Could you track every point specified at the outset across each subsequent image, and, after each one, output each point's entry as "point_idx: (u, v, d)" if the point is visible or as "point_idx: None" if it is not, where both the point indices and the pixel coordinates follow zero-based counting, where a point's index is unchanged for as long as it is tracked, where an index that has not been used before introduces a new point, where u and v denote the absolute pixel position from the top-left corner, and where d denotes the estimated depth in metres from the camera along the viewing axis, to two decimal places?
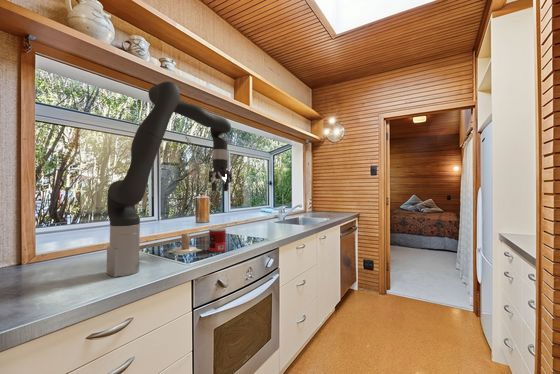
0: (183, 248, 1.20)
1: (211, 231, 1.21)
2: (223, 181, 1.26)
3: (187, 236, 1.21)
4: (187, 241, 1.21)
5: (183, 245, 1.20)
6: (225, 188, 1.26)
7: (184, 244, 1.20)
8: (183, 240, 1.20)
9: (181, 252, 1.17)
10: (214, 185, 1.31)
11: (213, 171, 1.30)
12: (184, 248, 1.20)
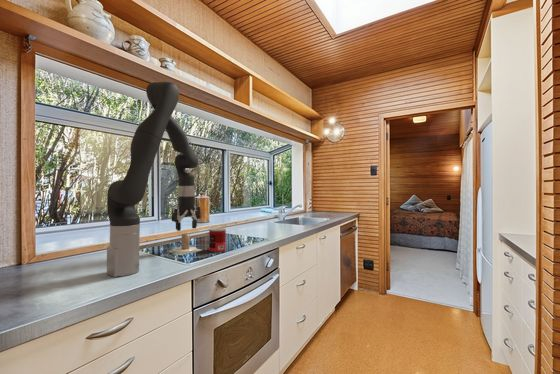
0: (183, 248, 1.20)
1: (211, 231, 1.21)
2: (195, 218, 1.24)
3: (187, 236, 1.21)
4: (187, 241, 1.21)
5: (183, 245, 1.20)
6: (196, 225, 1.25)
7: (184, 244, 1.20)
8: (183, 240, 1.20)
9: (181, 252, 1.17)
10: None
11: (181, 209, 1.18)
12: (184, 248, 1.20)
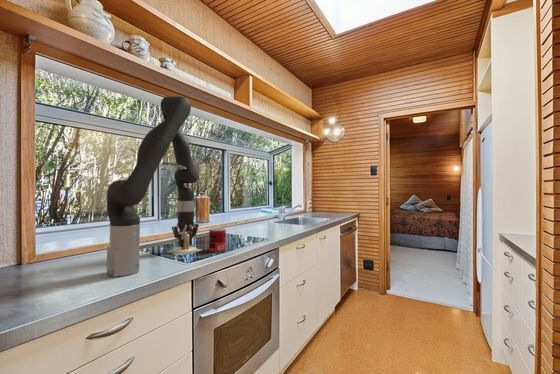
0: (183, 248, 1.20)
1: (211, 231, 1.21)
2: (190, 235, 1.23)
3: (187, 236, 1.21)
4: (187, 241, 1.21)
5: None
6: (191, 242, 1.24)
7: (184, 244, 1.20)
8: None
9: (181, 252, 1.17)
10: None
11: (180, 224, 1.18)
12: (184, 248, 1.20)
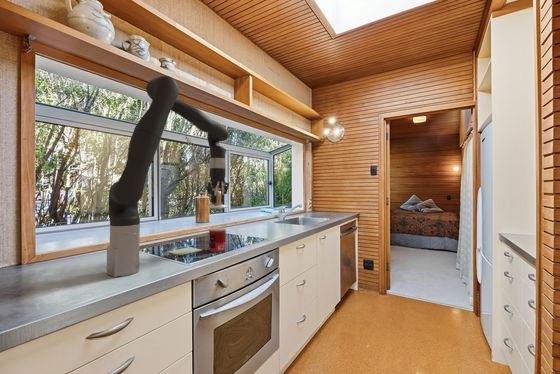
0: (215, 204, 1.22)
1: (211, 231, 1.21)
2: (222, 192, 1.25)
3: (219, 193, 1.23)
4: (219, 197, 1.23)
5: (216, 201, 1.22)
6: (222, 200, 1.26)
7: (216, 200, 1.22)
8: None
9: (214, 207, 1.19)
10: None
11: (213, 180, 1.21)
12: (216, 204, 1.22)
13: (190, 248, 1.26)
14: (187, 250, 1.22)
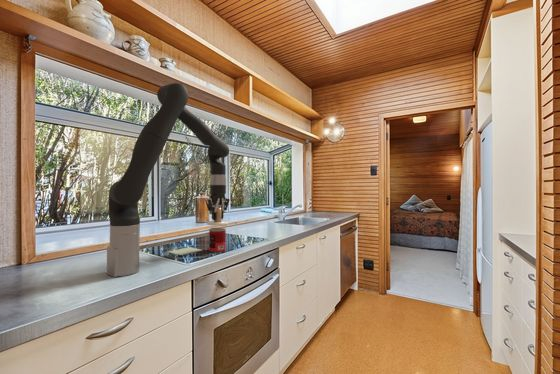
0: (216, 221, 1.22)
1: (211, 231, 1.21)
2: (222, 209, 1.25)
3: (219, 209, 1.23)
4: (219, 214, 1.23)
5: (216, 218, 1.22)
6: (222, 216, 1.26)
7: (217, 217, 1.22)
8: None
9: (214, 224, 1.19)
10: None
11: (213, 197, 1.20)
12: (217, 221, 1.22)
13: (190, 248, 1.26)
14: (187, 250, 1.22)
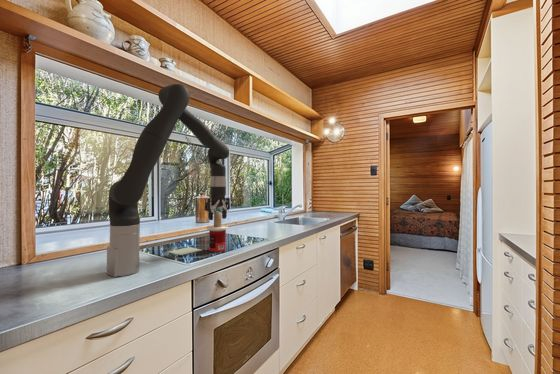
0: (215, 226, 1.22)
1: (211, 231, 1.21)
2: (225, 209, 1.27)
3: (219, 214, 1.23)
4: (219, 219, 1.23)
5: (216, 222, 1.22)
6: (226, 215, 1.28)
7: (216, 222, 1.22)
8: (215, 218, 1.22)
9: (214, 229, 1.19)
10: None
11: (213, 199, 1.20)
12: (216, 226, 1.22)
13: (190, 248, 1.26)
14: (187, 250, 1.22)
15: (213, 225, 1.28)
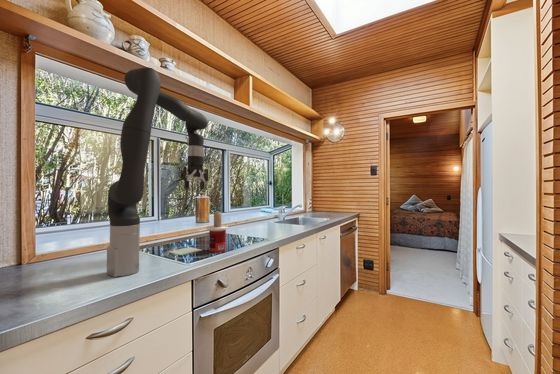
0: (215, 226, 1.22)
1: (211, 231, 1.21)
2: (203, 180, 1.26)
3: (219, 214, 1.23)
4: (219, 219, 1.23)
5: (216, 222, 1.22)
6: (203, 187, 1.27)
7: (216, 222, 1.22)
8: (215, 218, 1.22)
9: (214, 229, 1.19)
10: None
11: (190, 168, 1.20)
12: (216, 226, 1.22)
13: (190, 248, 1.26)
14: (187, 250, 1.22)
15: None
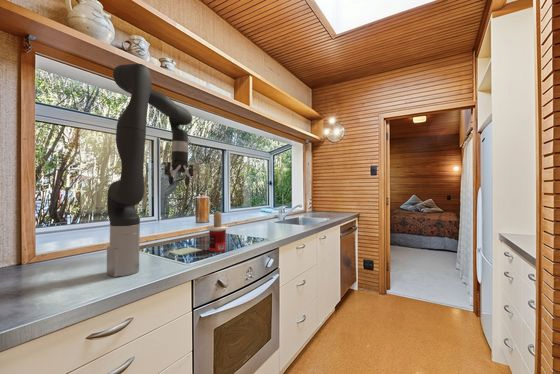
0: (215, 226, 1.22)
1: (211, 231, 1.21)
2: (188, 175, 1.26)
3: (219, 214, 1.23)
4: (219, 219, 1.23)
5: (216, 222, 1.22)
6: (189, 182, 1.27)
7: (216, 222, 1.22)
8: (215, 218, 1.22)
9: (214, 229, 1.19)
10: None
11: (174, 163, 1.20)
12: (216, 226, 1.22)
13: (190, 248, 1.26)
14: (187, 250, 1.22)
15: (213, 225, 1.28)
